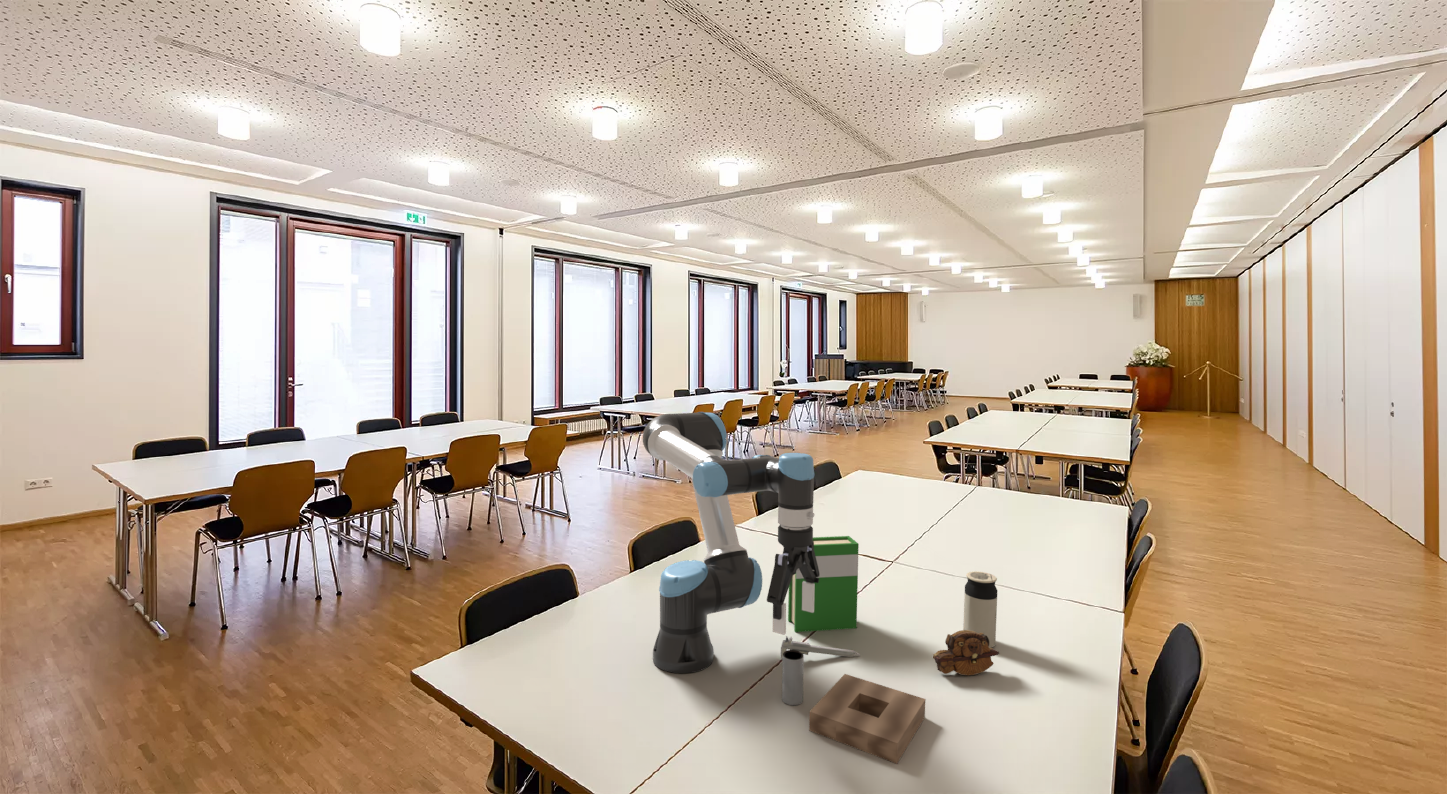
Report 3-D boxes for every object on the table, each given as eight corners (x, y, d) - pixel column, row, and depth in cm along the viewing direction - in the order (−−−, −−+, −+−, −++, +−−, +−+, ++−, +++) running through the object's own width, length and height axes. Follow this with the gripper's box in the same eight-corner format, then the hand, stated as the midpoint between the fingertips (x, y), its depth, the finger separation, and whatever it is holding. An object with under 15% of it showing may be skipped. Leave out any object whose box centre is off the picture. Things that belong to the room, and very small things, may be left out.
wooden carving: (942, 683, 144) (943, 641, 143) (930, 673, 148) (932, 632, 147) (1001, 674, 148) (1003, 633, 147) (989, 664, 152) (990, 625, 152)
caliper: (781, 662, 153) (782, 638, 153) (780, 660, 154) (780, 636, 154) (860, 657, 156) (860, 633, 156) (858, 655, 157) (859, 631, 157)
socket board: (809, 730, 125) (809, 711, 125) (844, 690, 140) (844, 673, 140) (896, 763, 115) (897, 743, 115) (924, 717, 130) (925, 699, 130)
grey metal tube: (800, 694, 138) (801, 649, 138) (804, 705, 134) (805, 659, 133) (780, 694, 138) (781, 649, 137) (783, 705, 134) (784, 659, 133)
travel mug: (961, 645, 163) (963, 578, 161) (964, 633, 170) (967, 569, 168) (994, 652, 159) (996, 583, 158) (996, 639, 166) (999, 574, 165)
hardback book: (795, 632, 169) (796, 546, 168) (788, 620, 177) (789, 538, 175) (856, 628, 172) (858, 543, 171) (846, 617, 179) (848, 535, 178)
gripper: (783, 542, 121) (782, 647, 122) (835, 515, 142) (833, 606, 143) (750, 536, 125) (749, 638, 126) (805, 511, 146) (804, 599, 147)
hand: (794, 621), depth 135 cm, fingers open, 13 cm apart
